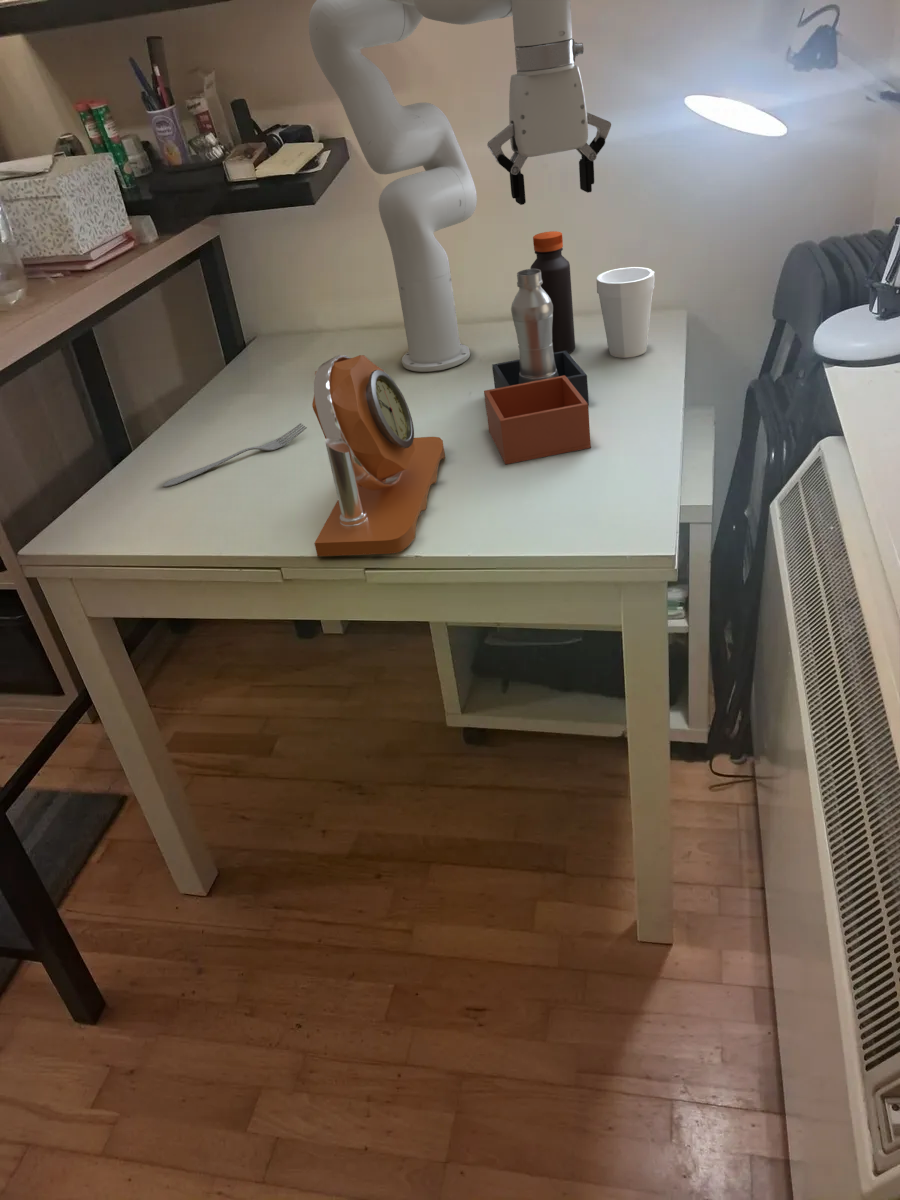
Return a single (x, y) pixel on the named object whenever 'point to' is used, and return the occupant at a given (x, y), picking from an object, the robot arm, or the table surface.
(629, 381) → the table surface
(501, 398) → the terracotta bin
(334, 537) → the desk clock
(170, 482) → the fork
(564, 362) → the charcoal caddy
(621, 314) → the foam cup
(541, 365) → the metal bottle
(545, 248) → the vinegar
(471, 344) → the table surface
